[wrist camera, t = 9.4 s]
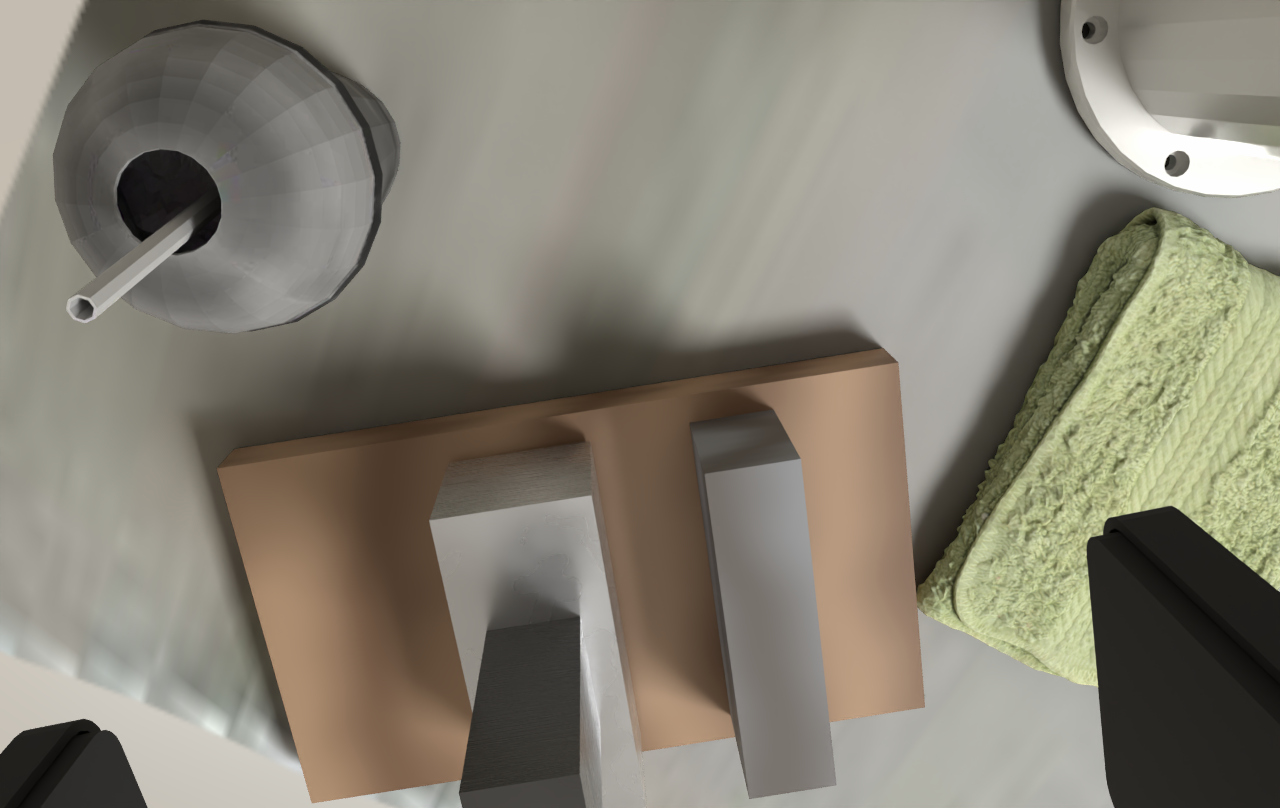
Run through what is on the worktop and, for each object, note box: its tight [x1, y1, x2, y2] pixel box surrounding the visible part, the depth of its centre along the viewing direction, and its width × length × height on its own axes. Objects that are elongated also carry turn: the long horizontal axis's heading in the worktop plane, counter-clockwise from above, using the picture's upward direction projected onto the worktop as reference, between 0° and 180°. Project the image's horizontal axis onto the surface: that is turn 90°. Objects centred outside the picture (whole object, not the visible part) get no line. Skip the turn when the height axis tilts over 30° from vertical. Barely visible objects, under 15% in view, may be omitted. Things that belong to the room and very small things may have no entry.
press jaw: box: [429, 441, 647, 808], centre depth 34 cm, size 5×13×13 cm, turn 8°
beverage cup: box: [53, 20, 400, 333], centre depth 27 cm, size 7×7×20 cm
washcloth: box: [916, 207, 1280, 687], centre depth 41 cm, size 13×18×3 cm
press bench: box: [217, 348, 925, 803], centre depth 39 cm, size 24×14×7 cm, turn 98°
